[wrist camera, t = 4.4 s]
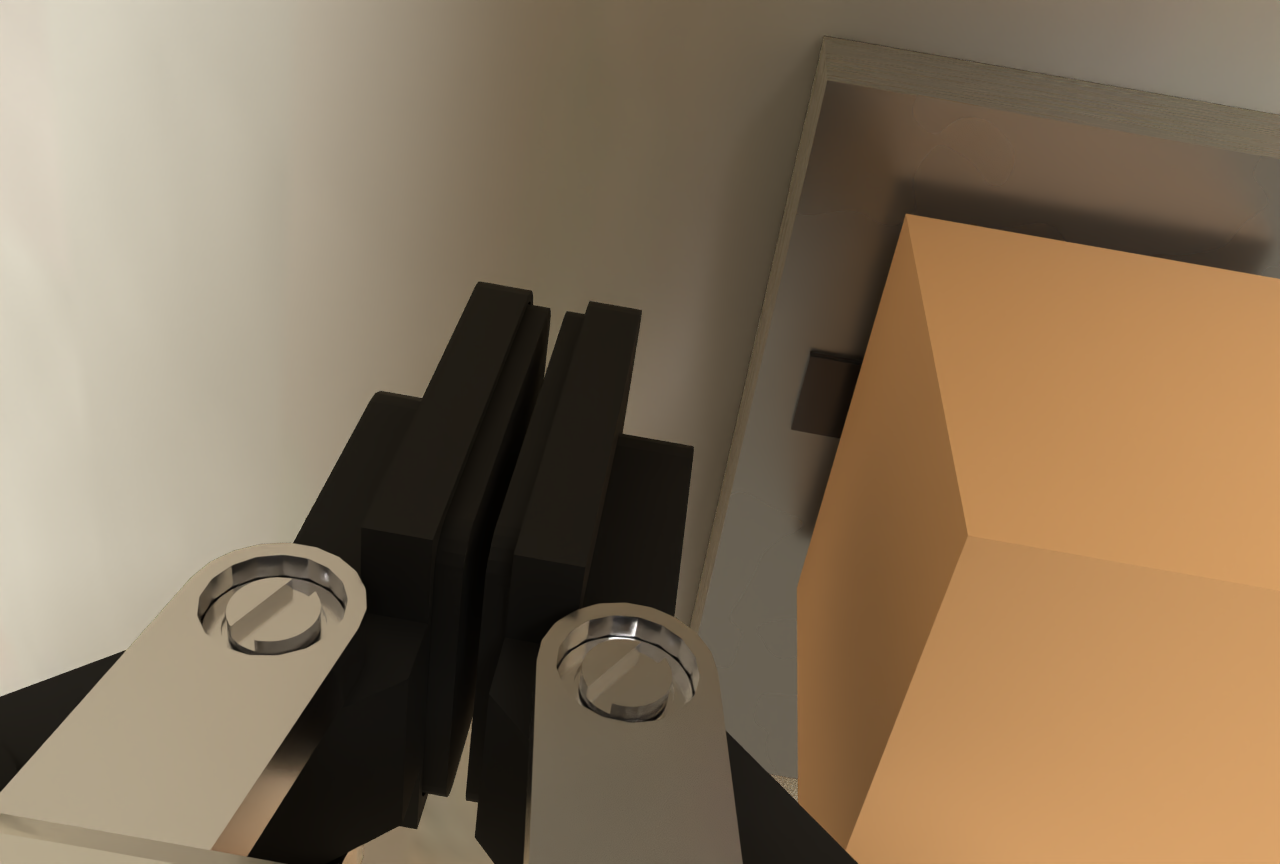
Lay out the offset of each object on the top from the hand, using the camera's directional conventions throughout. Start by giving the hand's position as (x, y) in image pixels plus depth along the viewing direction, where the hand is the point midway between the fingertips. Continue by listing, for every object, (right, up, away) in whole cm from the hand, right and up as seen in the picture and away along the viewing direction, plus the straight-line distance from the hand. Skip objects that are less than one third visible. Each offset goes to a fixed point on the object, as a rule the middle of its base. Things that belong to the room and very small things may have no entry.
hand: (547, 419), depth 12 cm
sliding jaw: (+5, -1, +2) cm, 5 cm away
